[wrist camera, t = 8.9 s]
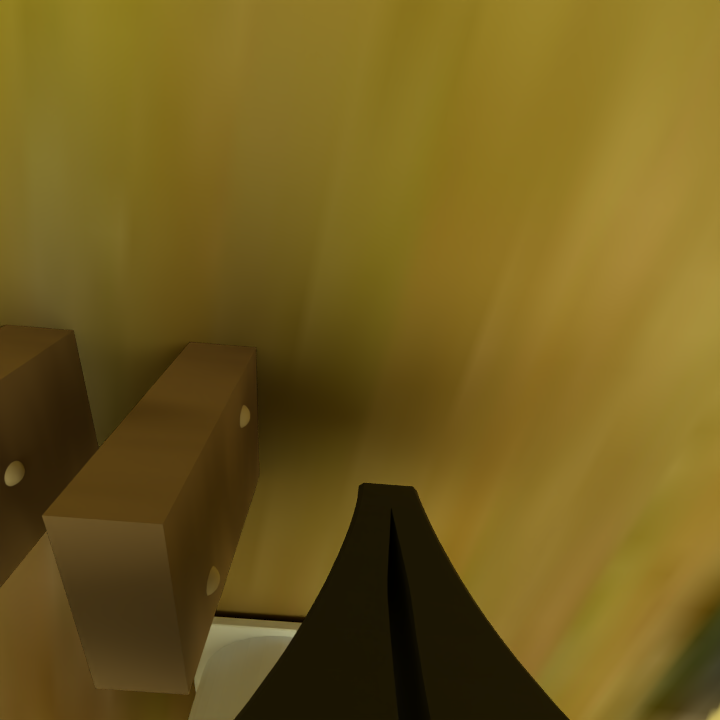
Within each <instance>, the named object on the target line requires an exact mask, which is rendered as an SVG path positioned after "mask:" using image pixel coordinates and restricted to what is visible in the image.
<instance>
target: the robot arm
mask: <svg viewBox="0 0 720 720" xmlns="http://www.w3.org/2000/svg"><path fill="white" fill-rule="evenodd" d="M194 683H195V690H196V695H195V699H194V702H193V705H192V708H191V712H190V715H189V718H188V720H569V718H568V717H567V716H566V715H565V714H564V713H563V712H562V711H561V710H560V709H559V708H558V707H557V706H556V704H555V703H554V702H553V701H552V700H551V699H550V697H549V696H548V695H547V694H546V693H545V692H544V690H543V689H542V688H541V687H540V686H539V684H538V683H537V682H536V681H535V680H534V679H533V677H532V676H531V675H530V674H529V673H528V672H527V670H526V669H525V668H524V667H523V666H522V664H521V663H520V662H519V661H518V660H517V658H516V657H515V656H514V655H513V653H512V652H511V651H510V649H509V648H508V647H507V645H506V644H505V643H504V642H503V640H502V639H501V638H500V636H499V635H498V634H497V632H496V631H495V630H494V628H493V627H492V625H491V624H490V623H489V621H488V620H487V618H486V617H485V616H484V614H483V613H482V611H481V610H480V608H479V607H478V605H477V604H476V602H475V601H474V599H473V598H472V596H471V595H470V593H469V592H468V590H467V588H466V587H465V585H464V584H463V582H462V580H461V579H460V577H459V575H458V574H457V572H456V570H455V569H454V567H453V565H452V564H451V562H450V560H449V558H448V556H447V554H446V553H445V551H444V549H443V547H442V545H441V543H440V542H439V540H438V538H437V536H436V534H435V532H434V530H433V528H432V526H431V524H430V522H429V519H428V517H427V515H426V513H425V511H424V508H423V506H422V504H421V501H420V499H419V496H418V494H417V491H416V490H415V489H414V487H412V486H399V485H386V484H373V483H363V484H361V485H360V486H359V489H358V498H357V503H356V507H355V511H354V514H353V517H352V521H351V524H350V526H349V529H348V532H347V534H346V537H345V539H344V542H343V544H342V547H341V549H340V552H339V554H338V556H337V558H336V560H335V562H334V565H333V567H332V569H331V571H330V573H329V575H328V577H327V579H326V581H325V583H324V585H323V587H322V589H321V591H320V593H319V595H318V596H317V598H316V600H315V602H314V604H313V605H312V607H311V609H310V610H309V612H308V614H307V616H306V617H305V619H304V621H303V622H302V623H298V622H284V621H270V620H256V619H242V618H229V617H215V616H214V618H213V622H212V625H211V628H210V631H209V634H208V637H207V640H206V643H205V646H204V649H203V653H202V656H201V659H200V662H199V665H198V668H197V671H196V674H195V677H194Z"/></svg>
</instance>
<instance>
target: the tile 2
mask: <svg viewBox="0 0 720 720" xmlns="http://www.w3.org/2000/svg"><path fill="white" fill-rule="evenodd" d="M98 449H99V448H98V443H97V439H96V434H95V429H94V424H93V420H92V415H91V410H90V406H89V401H88V396H87V391H86V387H85V382H84V377H83V372H82V368H81V363H80V358H79V354H78V349H77V344H76V339H75V335H74V330H63V329H51V328H38V327H26V326H14V325H5V326H3V327H1V328H0V587H1V586H2V585H3V584H4V583H5V581H6V580H7V579H8V578H9V576H10V575H11V574H12V573H13V571H14V570H15V569H16V568H17V566H18V565H19V564H20V563H21V562H22V560H23V559H24V558H25V557H26V555H27V554H28V553H29V552H30V550H31V549H32V548H33V547H34V546H35V544H36V543H37V542H38V541H39V539H40V538H41V537H42V536H43V534H44V533H45V532H46V531H47V530H46V527H45V524H44V521H43V517H42V515H43V514H44V512H45V511H46V510H47V509H48V508H49V507H50V505H51V504H52V503H53V502H54V501H55V500H56V498H57V497H58V496H59V495H60V494H61V493H62V491H63V490H64V489H65V488H66V487H67V485H68V484H69V483H70V482H71V481H72V480H73V478H74V477H75V476H76V475H77V474H78V473H79V471H80V470H81V469H82V468H83V467H84V466H85V464H86V463H87V462H88V461H89V460H90V459H91V457H92V456H93V455H94V454H95V453H96V451H97V450H98Z"/></svg>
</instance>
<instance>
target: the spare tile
mask: <svg viewBox="0 0 720 720" xmlns="http://www.w3.org/2000/svg"><path fill="white" fill-rule="evenodd" d="M258 479H259V442H258V401H257V361H256V347H245V346H233V345H220V344H207V343H195V342H189V344H188V345H187V346H186V347H185V348H184V350H183V351H182V352H181V353H180V354H179V355H178V357H177V358H176V359H175V360H174V361H173V362H172V364H171V365H170V366H169V367H168V368H167V369H166V371H165V372H164V373H163V374H162V375H161V376H160V378H159V379H158V380H157V381H156V382H155V384H154V385H153V386H152V387H151V388H150V389H149V391H148V392H147V393H146V394H145V395H144V396H143V398H142V399H141V400H140V401H139V402H138V403H137V405H136V406H135V407H134V408H133V409H132V410H131V412H130V413H129V414H128V415H127V416H126V417H125V419H124V420H123V421H122V422H121V423H120V425H119V426H118V427H117V428H116V429H115V430H114V432H113V433H112V434H111V435H110V436H109V437H108V439H107V440H106V441H105V442H104V443H103V444H102V446H101V447H100V448H99V449H98V450H97V451H96V453H95V454H94V455H93V456H92V457H91V459H90V460H89V461H88V462H87V463H86V464H85V466H84V467H83V468H82V469H81V470H80V471H79V473H78V474H77V475H76V476H75V477H74V478H73V480H72V481H71V482H70V483H69V484H68V485H67V487H66V488H65V489H64V490H63V491H62V493H61V494H60V495H59V496H58V497H57V498H56V500H55V501H54V502H53V503H52V504H51V505H50V507H49V508H48V509H47V510H46V511H45V512H44V514H43V515H42V517H43V521H44V524H45V527H46V530H47V534H48V537H49V540H50V543H51V546H52V550H53V553H54V556H55V559H56V563H57V566H58V569H59V572H60V576H61V579H62V582H63V585H64V589H65V592H66V595H67V598H68V601H69V605H70V608H71V611H72V614H73V618H74V621H75V624H76V627H77V631H78V634H79V637H80V640H81V644H82V647H83V650H84V653H85V656H86V660H87V663H88V666H89V669H90V673H91V676H92V679H93V682H94V686H95V688H97V689H111V690H126V691H141V692H155V693H170V694H185V695H189V693H190V690H191V687H192V684H193V680H194V677H195V674H196V671H197V668H198V665H199V662H200V659H201V656H202V653H203V649H204V646H205V643H206V640H207V637H208V634H209V631H210V628H211V625H212V622H213V618H214V615H215V612H216V609H217V606H218V603H219V600H220V597H221V594H222V591H223V587H224V584H225V581H226V578H227V575H228V572H229V569H230V566H231V563H232V560H233V556H234V553H235V550H236V547H237V544H238V541H239V538H240V535H241V532H242V529H243V525H244V522H245V519H246V516H247V513H248V510H249V507H250V504H251V501H252V498H253V494H254V491H255V488H256V485H257V482H258Z"/></svg>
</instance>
